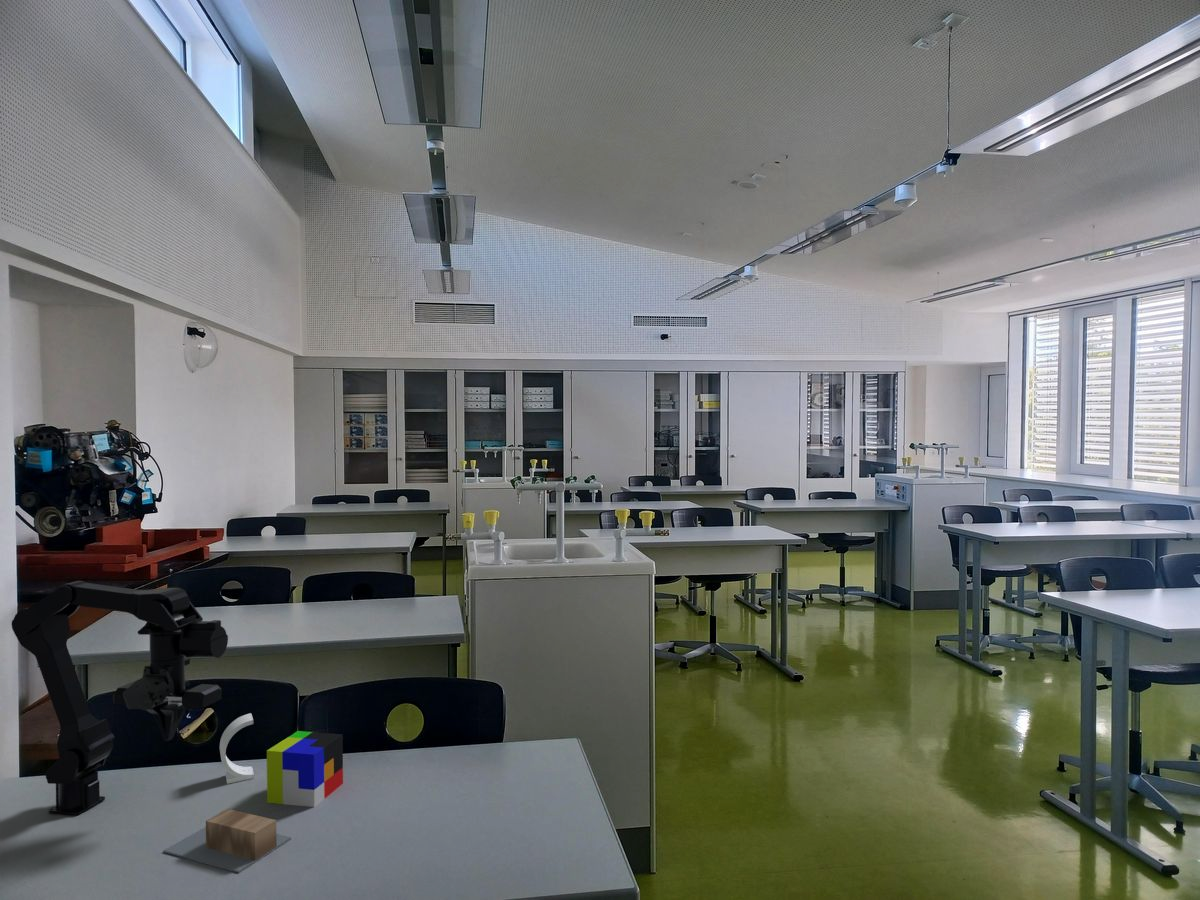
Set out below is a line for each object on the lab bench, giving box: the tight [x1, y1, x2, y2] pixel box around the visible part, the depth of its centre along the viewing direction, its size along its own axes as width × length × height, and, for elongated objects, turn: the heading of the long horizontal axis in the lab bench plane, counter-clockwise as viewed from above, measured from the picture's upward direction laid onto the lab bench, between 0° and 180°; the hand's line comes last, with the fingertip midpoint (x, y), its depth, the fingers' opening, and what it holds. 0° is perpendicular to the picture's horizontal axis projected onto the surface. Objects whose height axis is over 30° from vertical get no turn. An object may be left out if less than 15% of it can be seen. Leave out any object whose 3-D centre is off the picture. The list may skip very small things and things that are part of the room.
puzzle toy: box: [266, 730, 344, 808], centre depth 146 cm, size 10×10×10 cm
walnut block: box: [205, 808, 277, 860], centre depth 126 cm, size 4×4×11 cm
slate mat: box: [163, 826, 292, 874], centre depth 127 cm, size 17×11×1 cm, turn 68°
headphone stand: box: [219, 712, 255, 785], centre depth 153 cm, size 5×6×12 cm
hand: (168, 739), depth 140 cm, fingers closed
